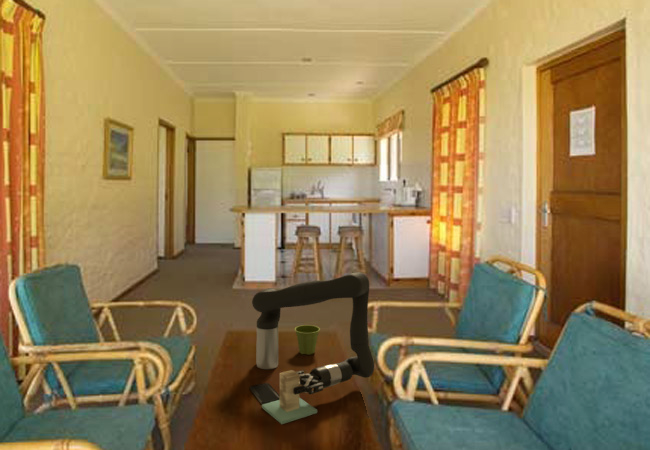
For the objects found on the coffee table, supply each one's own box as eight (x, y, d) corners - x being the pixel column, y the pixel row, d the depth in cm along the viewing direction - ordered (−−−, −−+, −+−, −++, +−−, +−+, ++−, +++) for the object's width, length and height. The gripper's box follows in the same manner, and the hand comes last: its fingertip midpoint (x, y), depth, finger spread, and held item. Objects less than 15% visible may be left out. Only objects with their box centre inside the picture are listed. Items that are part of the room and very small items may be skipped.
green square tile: (261, 407, 165) (261, 404, 165) (295, 397, 173) (295, 394, 173) (281, 424, 154) (281, 421, 154) (317, 412, 162) (317, 410, 162)
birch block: (279, 406, 164) (279, 373, 163) (291, 402, 167) (291, 369, 166) (286, 412, 160) (287, 377, 159) (299, 408, 163) (299, 374, 162)
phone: (268, 382, 184) (282, 398, 171) (268, 385, 184) (282, 401, 171) (248, 386, 181) (261, 402, 167) (248, 389, 181) (261, 405, 168)
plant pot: (289, 353, 218) (289, 329, 217) (303, 346, 228) (303, 323, 227) (310, 358, 212) (310, 334, 211) (324, 351, 222) (324, 327, 221)
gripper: (315, 360, 177) (277, 369, 168) (337, 372, 166) (298, 383, 156) (315, 379, 178) (277, 390, 169) (337, 393, 166) (298, 405, 157)
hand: (287, 386), depth 162 cm, fingers open, 8 cm apart
